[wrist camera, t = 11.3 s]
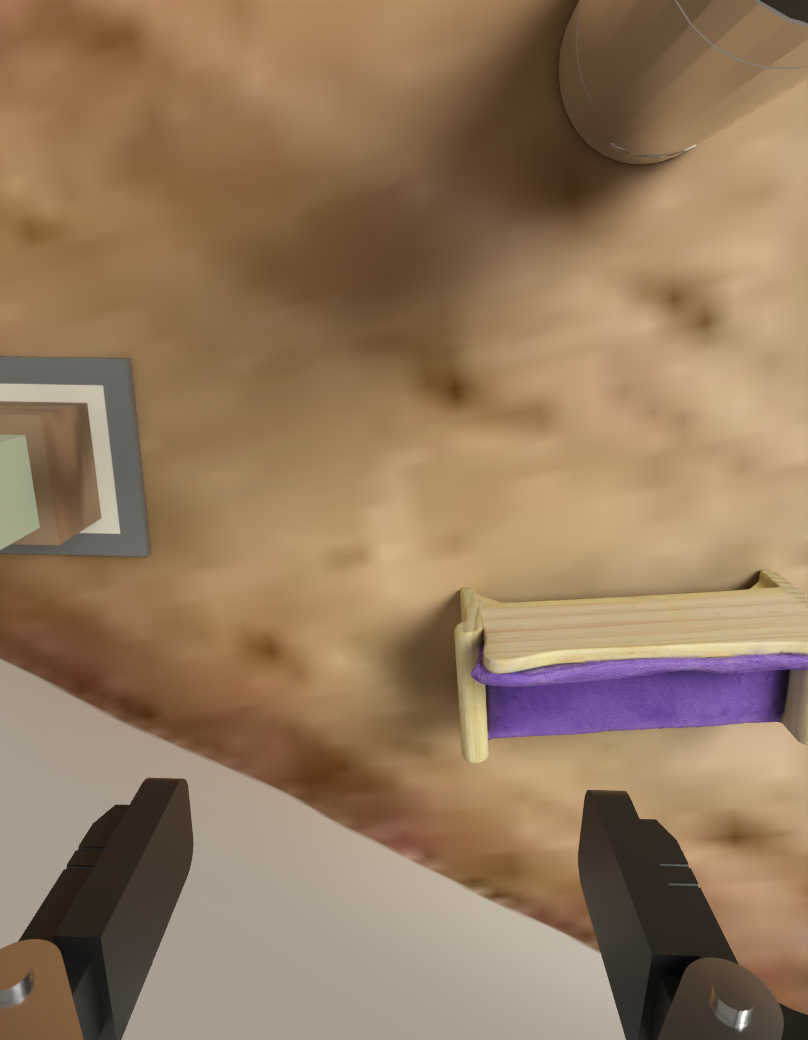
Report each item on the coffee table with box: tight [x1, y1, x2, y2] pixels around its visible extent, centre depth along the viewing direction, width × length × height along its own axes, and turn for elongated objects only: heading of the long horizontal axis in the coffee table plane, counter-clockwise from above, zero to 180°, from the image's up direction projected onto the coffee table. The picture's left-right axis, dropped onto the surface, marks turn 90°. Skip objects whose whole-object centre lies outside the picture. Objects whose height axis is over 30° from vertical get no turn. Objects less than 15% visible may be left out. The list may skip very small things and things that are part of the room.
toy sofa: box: [454, 570, 808, 763], centre depth 38 cm, size 21×9×10 cm, turn 94°
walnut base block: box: [0, 401, 102, 545], centre depth 37 cm, size 7×7×5 cm
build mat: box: [0, 356, 151, 557], centre depth 40 cm, size 12×12×1 cm
